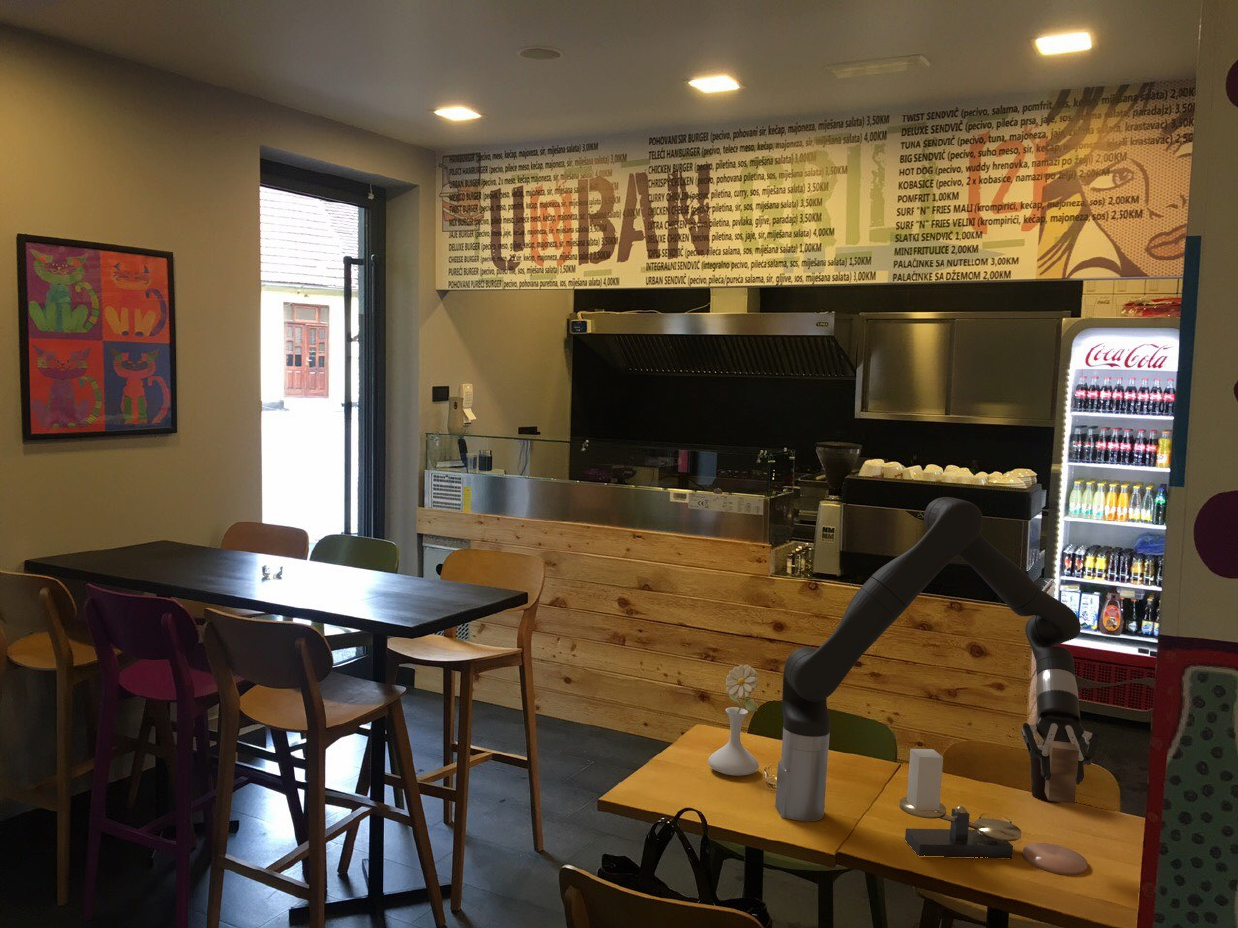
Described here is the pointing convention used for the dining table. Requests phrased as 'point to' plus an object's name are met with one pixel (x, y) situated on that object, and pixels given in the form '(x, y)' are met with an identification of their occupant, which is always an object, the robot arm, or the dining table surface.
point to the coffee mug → (1038, 780)
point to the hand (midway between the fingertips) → (1063, 780)
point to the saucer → (1055, 858)
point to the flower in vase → (737, 725)
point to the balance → (960, 835)
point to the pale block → (924, 779)
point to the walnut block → (1062, 772)
